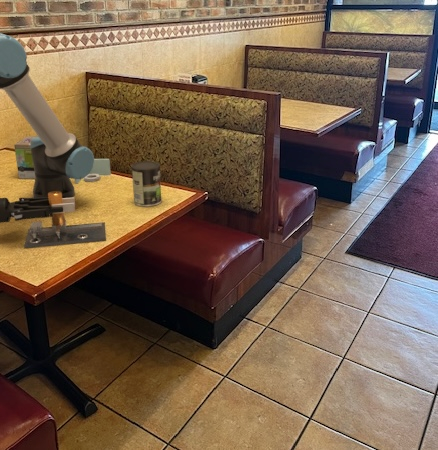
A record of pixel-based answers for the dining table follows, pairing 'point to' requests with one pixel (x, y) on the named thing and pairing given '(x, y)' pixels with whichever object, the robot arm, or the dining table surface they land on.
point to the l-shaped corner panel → (97, 170)
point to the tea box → (24, 158)
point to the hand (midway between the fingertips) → (74, 204)
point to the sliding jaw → (57, 218)
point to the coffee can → (146, 183)
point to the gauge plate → (64, 235)
